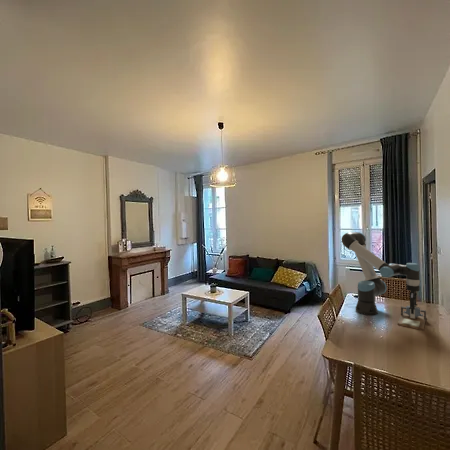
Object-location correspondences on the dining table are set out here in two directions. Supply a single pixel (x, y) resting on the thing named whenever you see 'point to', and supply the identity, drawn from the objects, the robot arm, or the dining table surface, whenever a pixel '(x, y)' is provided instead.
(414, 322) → the base
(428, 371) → the dining table surface
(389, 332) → the dining table surface
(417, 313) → the cap
